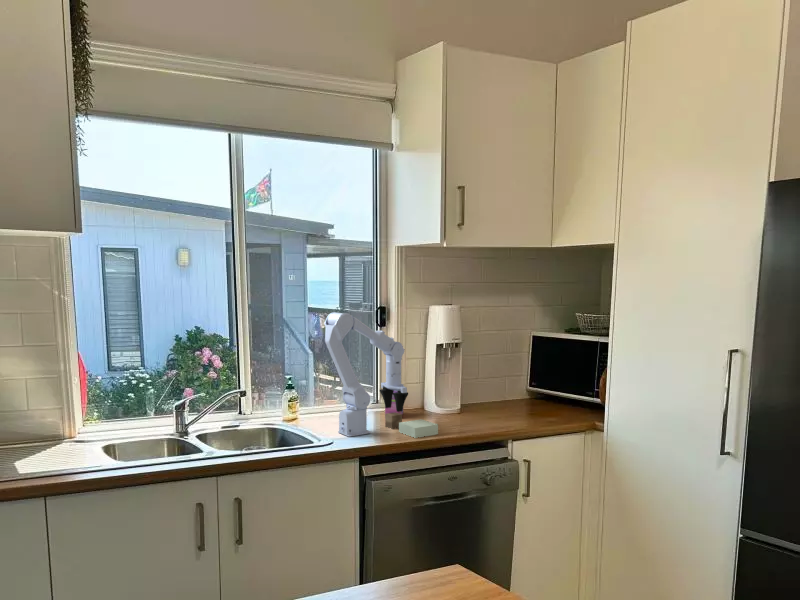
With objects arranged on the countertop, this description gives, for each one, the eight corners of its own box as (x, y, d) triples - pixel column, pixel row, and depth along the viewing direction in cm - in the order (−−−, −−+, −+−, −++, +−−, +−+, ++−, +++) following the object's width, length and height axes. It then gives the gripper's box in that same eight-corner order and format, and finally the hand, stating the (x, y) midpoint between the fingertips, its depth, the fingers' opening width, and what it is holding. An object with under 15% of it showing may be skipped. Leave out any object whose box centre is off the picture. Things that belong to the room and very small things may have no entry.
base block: (415, 438, 207) (415, 428, 207) (399, 432, 215) (399, 422, 215) (438, 434, 213) (438, 424, 213) (421, 428, 221) (421, 419, 221)
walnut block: (391, 429, 221) (391, 415, 221) (385, 426, 224) (385, 413, 224) (402, 427, 223) (402, 414, 223) (395, 425, 227) (395, 412, 227)
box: (398, 419, 238) (398, 389, 237) (384, 418, 239) (384, 389, 238) (403, 413, 248) (403, 385, 248) (390, 413, 249) (390, 384, 249)
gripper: (413, 374, 220) (413, 411, 220) (391, 370, 232) (392, 405, 232) (397, 376, 216) (397, 413, 216) (376, 371, 228) (376, 407, 228)
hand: (393, 409), depth 224 cm, fingers open, 7 cm apart
